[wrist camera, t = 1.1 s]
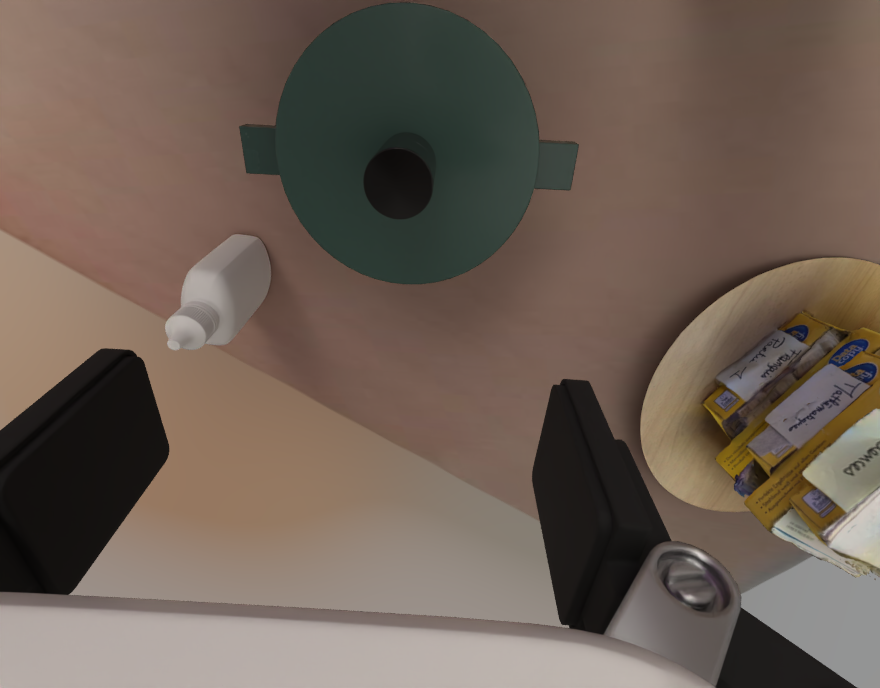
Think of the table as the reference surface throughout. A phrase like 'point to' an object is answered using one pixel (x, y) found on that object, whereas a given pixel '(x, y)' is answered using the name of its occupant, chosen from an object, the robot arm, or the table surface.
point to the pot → (551, 175)
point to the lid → (407, 143)
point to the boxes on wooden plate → (780, 409)
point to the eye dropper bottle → (220, 294)
